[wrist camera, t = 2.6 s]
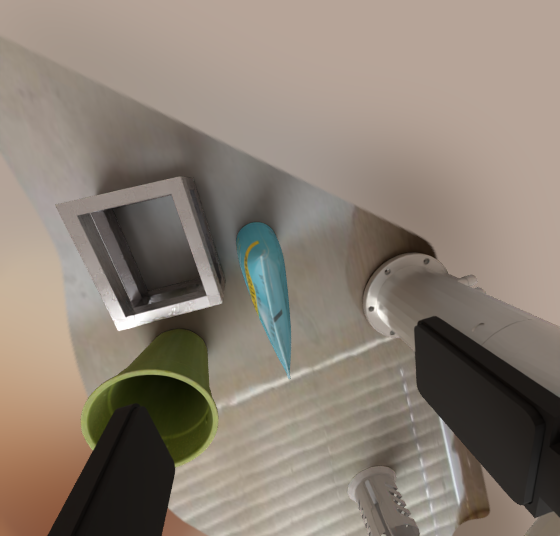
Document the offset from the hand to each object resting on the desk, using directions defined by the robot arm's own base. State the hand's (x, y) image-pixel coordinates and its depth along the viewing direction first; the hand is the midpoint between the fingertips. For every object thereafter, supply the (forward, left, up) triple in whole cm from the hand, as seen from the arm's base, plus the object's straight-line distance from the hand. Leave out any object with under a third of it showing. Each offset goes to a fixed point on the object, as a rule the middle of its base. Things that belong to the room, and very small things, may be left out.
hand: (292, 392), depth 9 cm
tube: (0, 0, -24) cm, 24 cm away
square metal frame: (+10, -2, -24) cm, 26 cm away
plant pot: (+13, +12, -24) cm, 30 cm away
